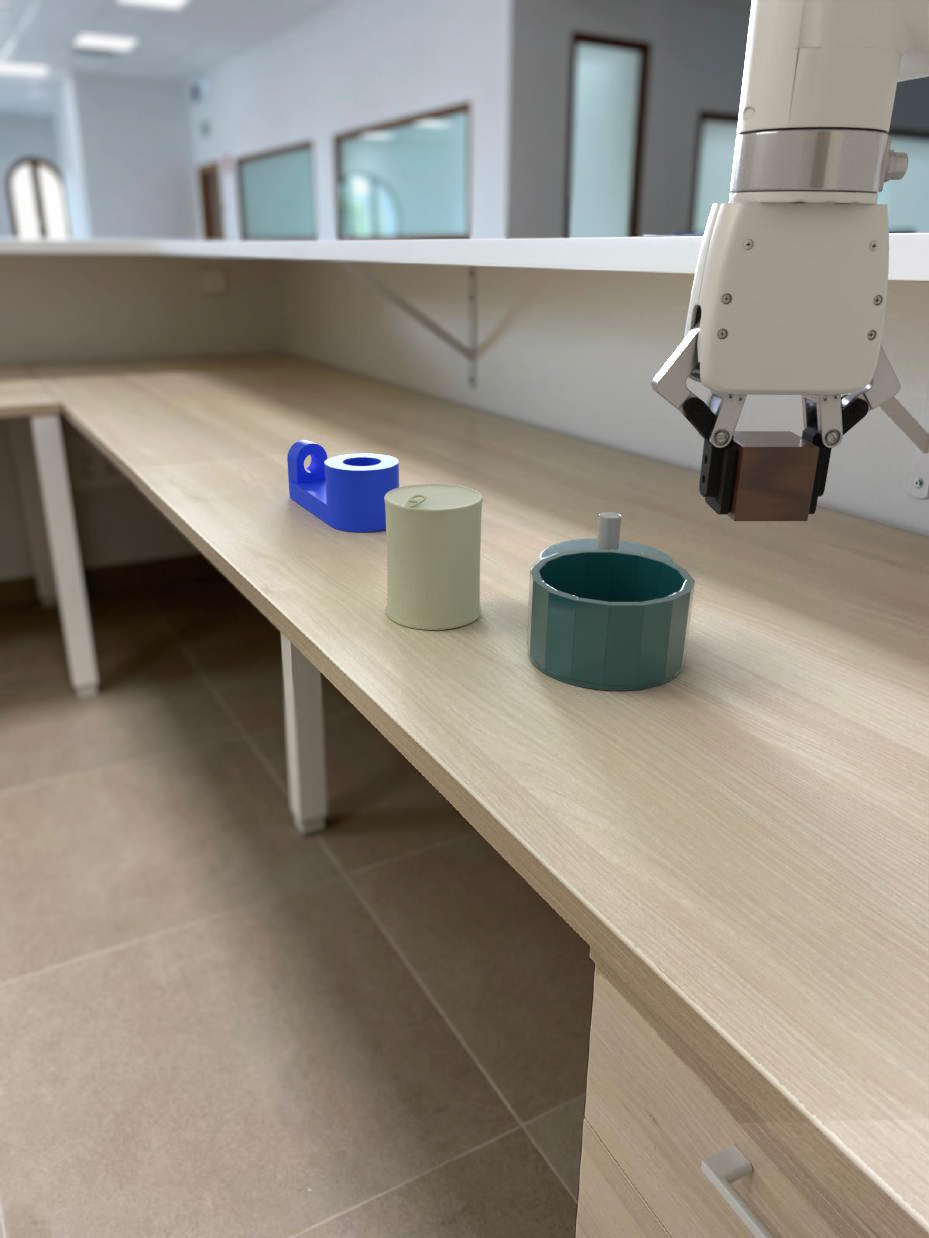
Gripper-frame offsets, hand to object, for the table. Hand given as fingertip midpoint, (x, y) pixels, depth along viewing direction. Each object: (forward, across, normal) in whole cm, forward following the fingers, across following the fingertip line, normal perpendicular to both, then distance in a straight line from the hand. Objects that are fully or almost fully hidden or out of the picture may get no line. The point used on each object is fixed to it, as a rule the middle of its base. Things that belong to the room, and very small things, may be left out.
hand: (758, 505), depth 56 cm
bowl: (+19, +4, -20) cm, 28 cm away
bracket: (+19, +30, -64) cm, 74 cm away
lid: (+19, 0, -42) cm, 45 cm away
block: (0, 0, 0) cm, 0 cm away
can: (+19, +19, -30) cm, 40 cm away
